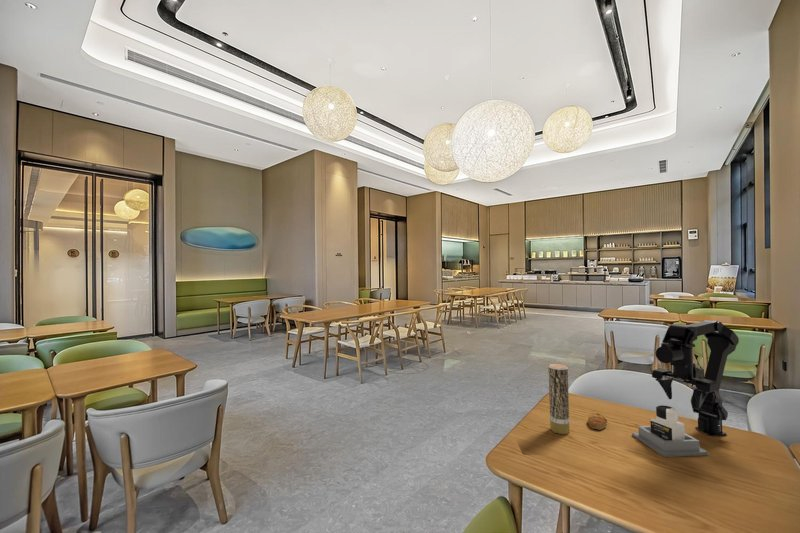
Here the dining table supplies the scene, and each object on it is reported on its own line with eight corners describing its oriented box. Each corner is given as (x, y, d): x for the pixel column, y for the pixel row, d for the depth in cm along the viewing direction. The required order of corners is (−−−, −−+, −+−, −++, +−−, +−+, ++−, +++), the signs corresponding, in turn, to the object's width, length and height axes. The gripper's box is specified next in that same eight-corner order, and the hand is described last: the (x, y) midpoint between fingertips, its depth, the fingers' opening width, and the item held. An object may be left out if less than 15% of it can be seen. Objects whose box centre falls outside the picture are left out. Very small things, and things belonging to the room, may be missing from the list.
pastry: (606, 432, 132) (605, 422, 132) (586, 428, 136) (585, 419, 136) (607, 423, 140) (607, 414, 140) (588, 420, 143) (588, 410, 143)
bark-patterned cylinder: (565, 427, 137) (563, 363, 137) (572, 435, 130) (570, 368, 130) (547, 427, 137) (546, 363, 138) (553, 435, 131) (551, 368, 131)
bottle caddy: (671, 434, 129) (671, 423, 129) (708, 455, 114) (707, 442, 114) (632, 435, 129) (631, 424, 129) (663, 456, 114) (663, 444, 114)
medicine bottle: (650, 439, 124) (649, 405, 124) (663, 435, 126) (662, 402, 126) (672, 448, 117) (671, 412, 117) (685, 444, 119) (684, 409, 120)
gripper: (727, 363, 120) (729, 409, 119) (668, 352, 137) (670, 392, 137) (708, 367, 115) (709, 414, 115) (650, 355, 133) (651, 396, 133)
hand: (684, 403), depth 125 cm, fingers open, 9 cm apart
